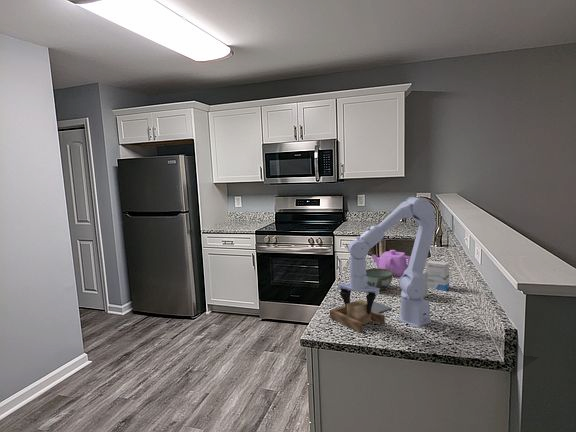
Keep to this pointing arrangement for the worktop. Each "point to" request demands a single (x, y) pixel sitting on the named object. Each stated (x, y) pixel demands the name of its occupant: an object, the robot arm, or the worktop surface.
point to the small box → (425, 283)
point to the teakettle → (393, 262)
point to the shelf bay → (356, 325)
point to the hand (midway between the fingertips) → (358, 311)
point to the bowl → (379, 278)
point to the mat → (379, 307)
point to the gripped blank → (358, 311)
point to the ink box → (438, 275)
